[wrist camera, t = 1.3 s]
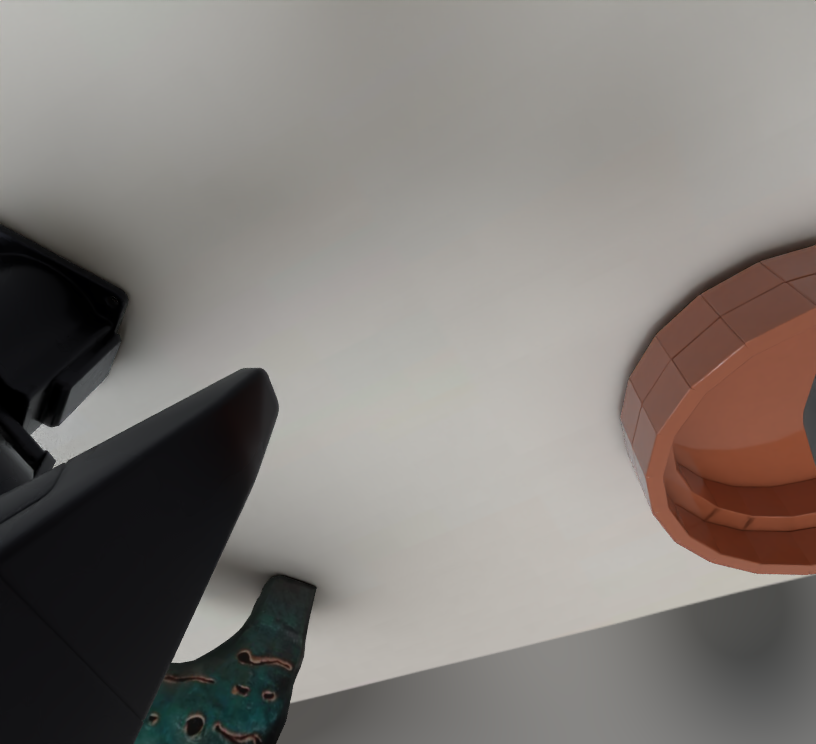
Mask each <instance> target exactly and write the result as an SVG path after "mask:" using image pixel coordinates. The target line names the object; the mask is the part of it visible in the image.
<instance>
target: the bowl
mask: <svg viewBox="0 0 816 744" xmlns="http://www.w3.org/2000/svg"><path fill="white" fill-rule="evenodd" d="M815 375H816V245H814V246H810V247H807V248H803V249H800V250H797V251H793V252H790V253H786V254H783V255H779V256H776V257H772V258H769V259H765V260H762V261H760V262H758V263H755V264H754V265H752V266H750V267H748V268H746V269H745V270H743V271H741V272H739V273H737V274H736V275H734V276H732V277H730V278H728V279H727V280H725V281H723V282H721V283H719V284H718V285H716V286H714V287H712V288H710V289H709V290H707V291H705V292H703V293H702V294H701V295H698V296H697V297H696V298H695V299H694V300H693V301H692V302H691V303H690V304H688V305H687V306H686V307H685V308H684V309H683V310H682V311H681V312H680V313H679V314H678V315H677V316H675V317H674V318H673V319H672V320H671V321H670V322H669V323H668V324H667V325H666V326H665V327H663V328H662V329H661V330H660V331H659V332H658V333H657V334H656V336H655V337H654V338H653V340H652V341H651V343H650V345H649V346H648V348H647V349H646V351H645V353H644V354H643V356H642V357H641V359H640V361H639V362H638V364H637V366H636V367H635V369H634V370H633V372H632V374H631V375H630V378H629V379H628V384H627V389H626V393H625V398H624V403H623V407H622V412H621V416H620V418H621V419H620V420H621V425H622V430H623V434H624V439H625V444H626V449H627V453H628V455H629V458H630V460H631V463H632V465H633V468H634V470H635V472H636V475H637V477H638V480H639V482H640V484H641V487H642V489H643V492H644V494H645V497H646V499H647V501H648V504H649V506H650V509H651V511H652V513H653V515H654V516H655V517H656V519H657V520H658V521H659V523H660V524H661V525H662V526H663V528H664V529H665V530H666V531H667V533H668V534H669V535H670V537H671V538H672V539H673V540H674V541H675V542H676V543H677V544H679V545H681V546H683V547H684V548H686V549H688V550H690V551H691V552H693V553H695V554H697V555H698V556H700V557H702V558H704V559H705V560H707V561H709V562H712V563H715V564H719V565H723V566H727V567H731V568H735V569H739V570H744V571H748V572H752V573H757V574H790V575H808V574H816V466H815V463H814V460H813V456H812V453H811V449H810V446H809V443H808V439H807V436H806V432H805V429H804V425H803V411H804V408H805V405H806V402H807V399H808V396H809V393H810V389H811V386H812V383H813V380H814V377H815Z"/></svg>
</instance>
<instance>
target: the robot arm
mask: <svg viewBox="0 0 816 744" xmlns="http://www.w3.org/2000/svg"><path fill="white" fill-rule="evenodd" d="M111 296H113V297H115V298H116V299H117V301H118V302H115V301H114V300H113V299H112V297H111ZM127 305H128V297H127V295H126V294H125V292H124V291H122V290H121V289H119V288H118V287H116V286H114V285H112V284H110V283H108V282H106V281H105V280H103V279H101V278H99V277H97V276H95V275H93V274H92V273H90V272H88V271H86V270H84V269H82V268H80V267H79V266H77V265H75V264H73V263H71V262H69V261H67V260H66V259H64V258H62V257H60V256H58V255H56V254H54V253H53V252H51V251H49V250H47V249H45V248H43V247H41V246H40V245H38V244H36V243H34V242H32V241H30V240H28V239H27V238H25V237H23V236H21V235H19V234H17V233H15V232H14V231H12V230H10V229H8V228H6V227H4V226H3V225H1V224H0V744H134V743H135V741H136V738H137V736H138V734H139V732H140V730H141V728H142V725H143V720H145V718H146V716H147V714H148V712H149V710H150V707H151V705H152V703H153V701H154V699H155V697H156V694H157V692H158V690H159V688H160V686H161V684H162V682H163V679H164V677H165V675H166V673H167V671H168V669H169V666H170V664H171V662H172V660H173V658H174V656H175V653H176V651H177V649H178V647H179V645H180V643H181V641H182V638H183V636H184V634H185V632H186V630H187V628H188V625H189V623H190V621H191V619H192V617H193V615H194V612H195V610H196V608H197V606H198V604H199V602H200V599H201V597H202V595H203V593H204V591H205V589H206V587H207V584H208V582H209V580H210V578H211V576H212V574H213V571H214V569H215V567H216V565H217V563H218V561H219V558H220V556H221V554H222V552H223V550H224V548H225V545H226V543H227V541H228V539H229V537H230V535H231V533H232V530H233V528H234V526H235V524H236V522H237V520H238V517H239V515H240V513H241V511H242V509H243V507H244V504H245V502H246V500H247V498H248V496H249V494H250V491H251V489H252V487H253V485H254V482H255V480H256V477H257V474H258V472H259V469H260V466H261V463H262V460H263V457H264V454H265V451H266V448H267V446H268V443H269V440H270V437H271V434H272V431H273V428H274V425H275V422H276V419H277V416H278V411H279V405H278V400H277V397H276V395H275V392H274V389H273V387H272V384H271V382H270V379H269V376H268V374H267V372H266V371H265V370H264V369H262V368H243V369H240V370H238V371H236V372H234V373H233V374H231V375H229V376H227V377H225V378H223V379H221V380H219V381H217V382H216V383H214V384H212V385H210V386H208V387H206V388H204V389H202V390H200V391H199V392H197V393H195V394H193V395H191V396H189V397H187V398H185V399H183V400H182V401H180V402H178V403H176V404H174V405H172V406H170V407H168V408H166V409H165V410H163V411H161V412H159V413H157V414H155V415H153V416H151V417H149V418H148V419H146V420H144V421H142V422H140V423H138V424H136V425H134V426H132V427H131V428H129V429H127V430H125V431H123V432H121V433H119V434H117V435H115V436H114V437H112V438H110V439H108V440H106V441H104V442H102V443H100V444H98V445H97V446H95V447H93V448H91V449H89V450H87V451H85V452H83V453H81V454H80V455H78V456H76V457H74V458H72V459H70V460H68V462H67V463H62V464H60V465H59V466H57V467H55V468H53V466H54V464H55V462H56V460H55V459H54V458H53V457H52V455H51V454H50V453H49V452H48V451H47V450H45V451H44V450H43V449H42V448H41V447H40V446H39V445H38V444H37V442H36V441H35V440H34V439H33V438H32V437H31V436H30V435H31V434H32V433H33V432H34V431H35V430H36V429H37V428H38V427H39V426H40V425H41V424H44V425H47V426H49V427H55V426H59V425H60V424H61V423H62V422H63V421H64V420H65V419H66V418H67V417H68V416H69V415H70V414H71V413H72V412H73V411H74V410H75V409H76V408H77V407H78V406H79V405H80V404H81V403H82V402H83V401H84V400H85V399H86V397H87V396H88V395H89V394H90V393H91V392H92V391H93V390H94V389H95V388H96V387H97V386H98V385H99V384H100V383H101V382H102V381H103V380H104V379H105V378H106V377H107V376H108V374H109V372H110V369H111V366H112V364H113V361H114V359H115V356H116V354H117V351H118V348H119V346H120V343H121V338H120V335H119V334H117V331H118V328H119V326H120V323H121V320H122V318H123V315H124V313H125V310H126V307H127ZM803 425H804V429H805V432H806V436H807V439H808V443H809V446H810V449H811V453H812V456H813V460H814V463H815V466H816V375H815V377H814V380H813V383H812V386H811V389H810V393H809V396H808V399H807V402H806V405H805V408H804V411H803ZM52 468H53V469H52Z"/></svg>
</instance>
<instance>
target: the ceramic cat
mask: <svg viewBox="0 0 816 744" xmlns="http://www.w3.org/2000/svg"><path fill="white" fill-rule="evenodd" d="M315 592H316V587H314V586H311V585H308V584H305V583H302V582H299V581H297V580H294V579H291V578H288V577H285V576H282V575H281V576H276V577H273V578H270V579H269V580H268V581H267V583H266V584H265V585H264V587H263V589H262V592H261V595H260V596H259V598H258V599H257V601H256V603H255V605H254V607H253V610H252V612H251V615H250V616H249V618H248V619H247V621H246V622H245V624H244V625H243V626H242V628H241V629H240V630H239V631H238V632H237V633H235V634H234V635H233V636H232V637H231V638H230V639H228V640H227V641H226V642H224V643H223V644H221V645H220V646H218V647H217V648H215V649H214V650H212V651H210V652H208V653H207V654H205V655H203V656H201V657H200V658H198V659H196V660H194V661H189V662H183V663H171V664H170V666H169V669H168V671H167V673H166V675H165V677H164V679H163V682H162V684H161V686H160V688H159V690H158V692H157V694H156V697H155V699H154V701H153V703H152V705H151V707H150V710H149V712H148V714H147V716H146V718H145V720H143V725H142V728H141V730H140V732H139V734H138V736H137V738H136V741H135V743H134V744H276V742H277V740H278V738H279V736H280V733H281V731H282V729H283V727H284V725H285V722H286V719H287V714H288V709H289V704H290V700H291V696H292V689H293V684H294V682H295V679H296V676H297V674H298V672H299V670H300V667H301V664H302V661H303V658H304V651H305V640H306V635H307V629H308V624H309V619H310V614H311V610H312V606H313V601H314V596H315Z"/></svg>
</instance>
